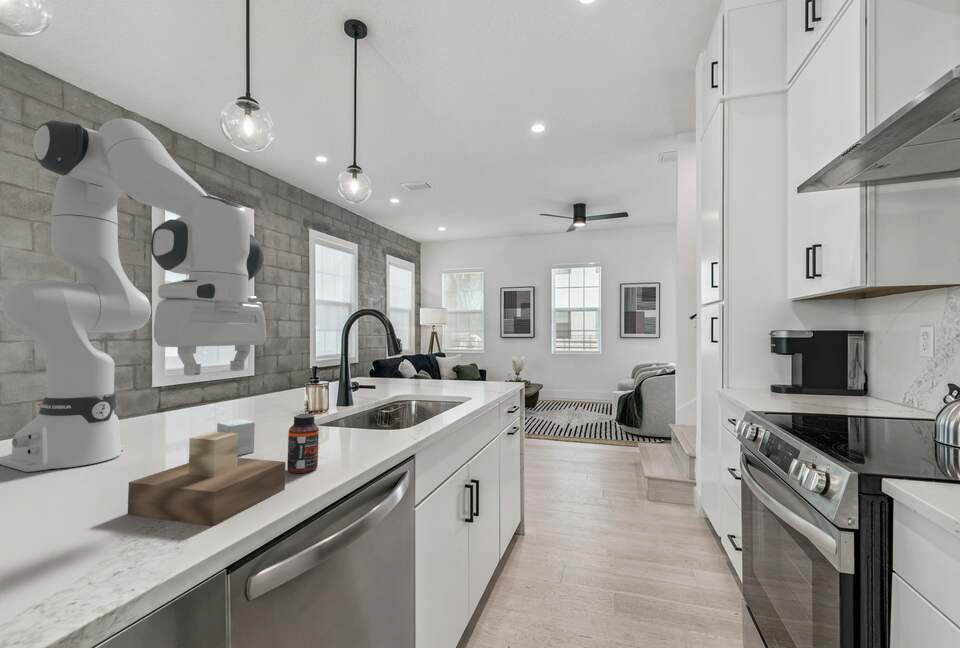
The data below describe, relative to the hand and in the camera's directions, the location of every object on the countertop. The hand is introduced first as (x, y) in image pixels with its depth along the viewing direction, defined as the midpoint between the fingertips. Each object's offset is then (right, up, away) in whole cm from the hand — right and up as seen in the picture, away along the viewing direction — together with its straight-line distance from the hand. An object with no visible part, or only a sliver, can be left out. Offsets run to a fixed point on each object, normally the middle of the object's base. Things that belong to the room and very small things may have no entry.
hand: (215, 372), depth 75 cm
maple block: (0, -17, 0) cm, 17 cm away
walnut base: (0, -22, -1) cm, 22 cm away
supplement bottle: (+8, -23, +17) cm, 29 cm away
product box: (-13, -23, +29) cm, 39 cm away
